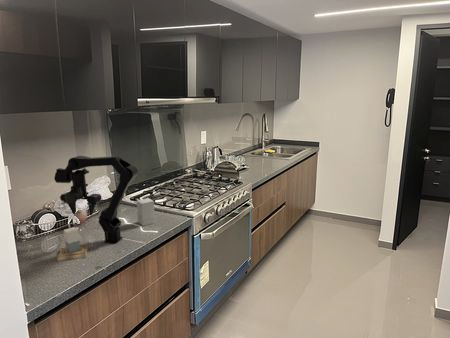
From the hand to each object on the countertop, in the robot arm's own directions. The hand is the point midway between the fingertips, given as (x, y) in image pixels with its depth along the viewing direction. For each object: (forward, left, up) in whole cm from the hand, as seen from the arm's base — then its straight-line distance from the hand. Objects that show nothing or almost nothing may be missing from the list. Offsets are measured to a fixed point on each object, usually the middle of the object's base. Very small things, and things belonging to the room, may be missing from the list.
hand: (82, 214), depth 162 cm
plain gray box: (-4, +14, -12) cm, 19 cm away
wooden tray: (-4, +14, -13) cm, 20 cm away
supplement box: (-19, -27, -13) cm, 36 cm away
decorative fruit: (+16, -17, -13) cm, 27 cm away
